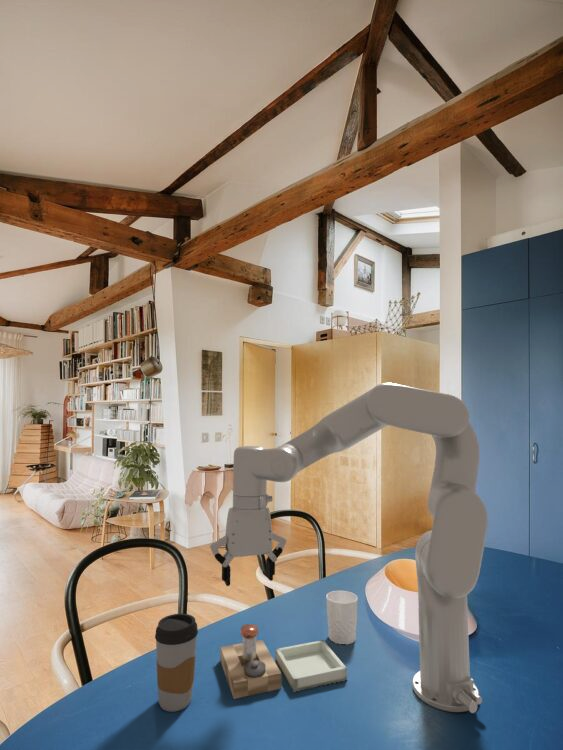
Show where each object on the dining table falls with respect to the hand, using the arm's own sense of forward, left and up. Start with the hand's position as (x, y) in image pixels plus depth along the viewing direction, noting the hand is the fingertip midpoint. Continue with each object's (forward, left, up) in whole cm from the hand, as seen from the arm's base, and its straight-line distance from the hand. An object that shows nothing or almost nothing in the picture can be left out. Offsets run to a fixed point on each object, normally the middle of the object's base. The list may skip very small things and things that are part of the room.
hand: (248, 581), depth 96 cm
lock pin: (0, 0, -20) cm, 20 cm away
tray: (-3, -13, -19) cm, 24 cm away
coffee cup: (-4, +16, -20) cm, 26 cm away
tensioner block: (0, 0, -19) cm, 19 cm away
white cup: (+7, -26, -20) cm, 34 cm away
